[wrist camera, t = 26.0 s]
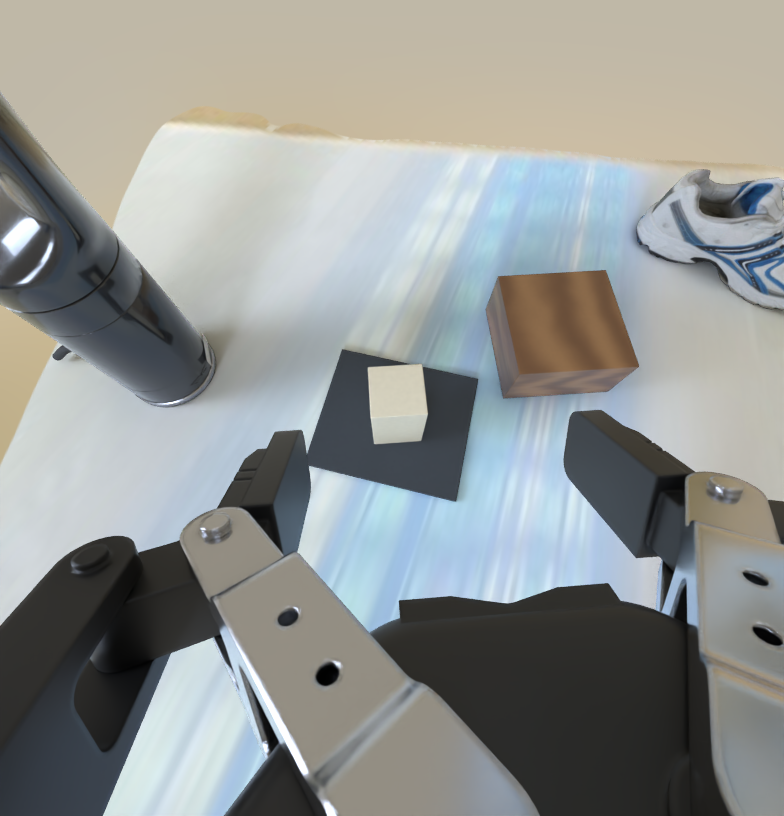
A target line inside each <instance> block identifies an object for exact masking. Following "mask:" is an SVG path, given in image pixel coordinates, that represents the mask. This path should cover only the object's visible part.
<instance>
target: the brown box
mask: <svg viewBox="0 0 784 816" xmlns="http://www.w3.org/2000/svg"><path fill="white" fill-rule="evenodd" d="M486 313H487V318H488V323H489V329H490V334H491V339H492V344H493V349H494V354H495V359H496V364H497V369H498V374H499V379H500V385H501V390H502V395H503V398H517V397H531V396H546V395H561V394H576V393H591V392H606V391H609V390H610V389H612V388H613V387H614V386H615V385H617V384H618V383H619V382H620V381H622V380H623V379H624V378H625V377H627V376H628V375H629V374H631V373H632V372H633V371H634V370H636V369H637V368H638V367H639V364H638V361H637V359H636V356H635V353H634V350H633V347H632V344H631V341H630V338H629V336H628V333H627V330H626V327H625V324H624V321H623V318H622V316H621V313H620V310H619V307H618V304H617V301H616V298H615V295H614V293H613V290H612V287H611V284H610V281H609V278H608V275H607V273H606V270H601V271H583V272H566V273H548V274H531V275H513V276H498V278H497V281H496V284H495V286H494V289H493V292H492V294H491V297H490V300H489V302H488V305H487V308H486Z"/></svg>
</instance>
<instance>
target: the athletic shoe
mask: <svg viewBox="0 0 784 816" xmlns="http://www.w3.org/2000/svg"><path fill="white" fill-rule="evenodd" d="M709 175H710V170H704V169H701V170H694V171H692V172H690V173H688V174H687V175H685V176H684V177H683V178H681V179H680V180H679V181H678V182H677V183H676V184H675V185H674V186H673V187H672V188H671V189H670V190H669V191H668V192H667V194H666V195H665V196H664V197H663V198H662V199H661V200H660V201H659V202H657V203H655V204H654V205H653V206H652V207H650V208H649V209H648V210H647V212H646V214H645V215H644V216H642V218H641V219H640V221H639V223H638V226H637V229H636V230H637V238H638V242H639V244H640V245H645V244H646V245H648V246H649V252H650V253H651V254H653V255H655V256H656V257H661V258H663V259H665V260H668V261H672V262H680V263H697V262H703V261H708V262H711V263H713V264H714V265H715V266H716V267H717V269H718V272H719V276H720V278H721V280H722V281H723V282H724V283H725V284H726V285H729V287H730V290H731V291H732V292H734V293H736V294H738V295H739V296H743V298H744V300H746V301H748V302H750V303H752V304H753V305H754V304H757V303H758V304H759V305H760V306H762V307H764V308H769V309H774V308H779V309H780V310H784V206H783V200H784V191H783V188H784V180H782V179H780V178H768V179H759V180H756V181H747V182H742V183H738V184H719V183H714V182H713V181H711V180H710V179H709Z"/></svg>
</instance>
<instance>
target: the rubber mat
mask: <svg viewBox="0 0 784 816" xmlns="http://www.w3.org/2000/svg"><path fill="white" fill-rule="evenodd" d="M397 365H412V364H407V363H402V362H398V361H393V360H389V359H384V358H380V357H375V356H370V355H366V354H361V353H357V352H352V351H347V350H343V349H342V352H341V355H340V358H339V361H338V364H337V367H336V370H335V373H334V376H333V379H332V382H331V385H330V388H329V391H328V394H327V397H326V400H325V403H324V406H323V409H322V412H321V415H320V418H319V420H318V423H317V426H316V429H315V432H314V435H313V438H312V441H311V444H310V447H309V450H308V453H307V460H308V465H309V466H313V467H317V468H321V469H325V470H329V471H333V472H337V473H341V474H345V475H349V476H353V477H358V478H362V479H366V480H370V481H374V482H378V483H382V484H386V485H390V486H394V487H398V488H402V489H406V490H410V491H414V492H418V493H422V494H427V495H431V496H435V497H439V498H443V499H447V500H451V501H456V498H457V493H458V487H459V482H460V476H461V471H462V465H463V460H464V454H465V449H466V443H467V437H468V432H469V426H470V421H471V415H472V410H473V404H474V399H475V393H476V388H477V382H478V379H476V378H471V377H467V376H462V375H457V374H453V373H448V372H444V371H439V370H435V369H430V368H425V367H423V375H424V384H425V393H426V401H427V410H428V416H427V420H426V424H425V428H424V432H423V435H422V439H421V441H414V442H400V443H386V444H374V439H373V431H372V424H371V415H370V397H369V380H368V367H381V366H397Z"/></svg>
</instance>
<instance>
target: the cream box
mask: <svg viewBox="0 0 784 816" xmlns="http://www.w3.org/2000/svg"><path fill="white" fill-rule="evenodd" d="M368 380H369V397H370V415H371V424H372V431H373V439H374V444H386V443H400V442H414V441H421V439H422V435H423V432H424V428H425V424H426V420H427V416H428V410H427V401H426V393H425V384H424V375H423V367H422V364H412V365H397V366H381V367H368Z"/></svg>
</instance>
